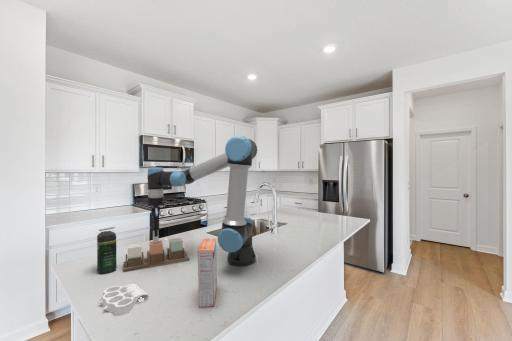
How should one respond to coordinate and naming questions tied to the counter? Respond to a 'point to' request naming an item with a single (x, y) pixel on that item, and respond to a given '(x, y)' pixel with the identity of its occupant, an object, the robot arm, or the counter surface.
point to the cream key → (134, 250)
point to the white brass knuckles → (122, 298)
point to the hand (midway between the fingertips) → (155, 242)
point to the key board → (154, 260)
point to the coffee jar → (106, 252)
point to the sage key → (175, 244)
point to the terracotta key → (155, 248)
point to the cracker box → (207, 273)
